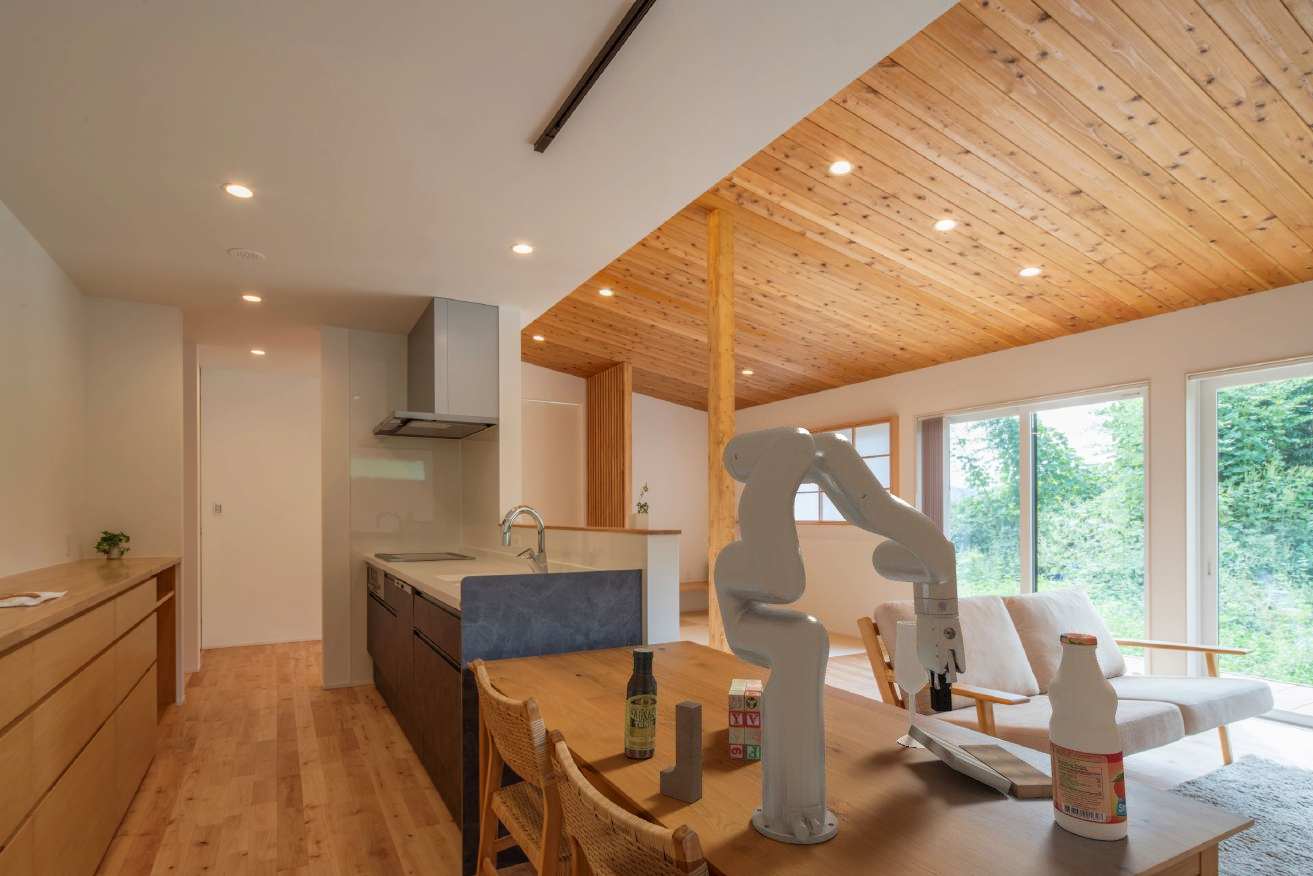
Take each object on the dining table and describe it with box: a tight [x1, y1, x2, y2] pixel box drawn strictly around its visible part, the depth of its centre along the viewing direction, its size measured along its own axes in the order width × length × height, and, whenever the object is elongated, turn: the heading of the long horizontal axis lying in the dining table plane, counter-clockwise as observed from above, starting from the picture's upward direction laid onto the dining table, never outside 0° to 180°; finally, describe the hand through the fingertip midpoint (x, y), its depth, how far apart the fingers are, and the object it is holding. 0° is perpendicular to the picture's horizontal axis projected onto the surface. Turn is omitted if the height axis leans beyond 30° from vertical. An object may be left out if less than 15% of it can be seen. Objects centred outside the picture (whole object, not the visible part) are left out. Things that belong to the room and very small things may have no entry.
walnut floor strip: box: [958, 743, 1053, 799], centre depth 124 cm, size 20×8×2 cm, turn 3°
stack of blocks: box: [727, 678, 764, 761], centre depth 143 cm, size 21×6×12 cm, turn 170°
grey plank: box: [907, 725, 1012, 794], centre depth 124 cm, size 18×10×2 cm, turn 3°
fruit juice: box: [1047, 632, 1128, 841], centre depth 105 cm, size 9×9×28 cm
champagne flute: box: [893, 620, 929, 749], centre depth 143 cm, size 7×7×24 cm
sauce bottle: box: [623, 647, 658, 760], centre depth 135 cm, size 7×6×20 cm
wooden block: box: [659, 700, 703, 804], centre depth 116 cm, size 7×3×15 cm, turn 53°
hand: (941, 710), depth 125 cm, fingers closed
